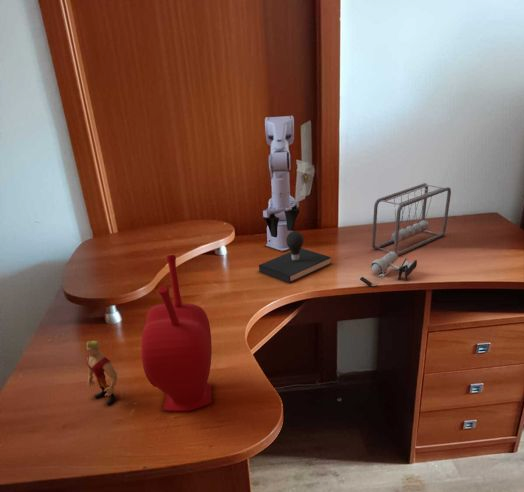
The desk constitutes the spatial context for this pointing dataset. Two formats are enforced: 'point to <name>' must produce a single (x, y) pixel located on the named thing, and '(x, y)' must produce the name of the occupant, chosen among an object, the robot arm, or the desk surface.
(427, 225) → the newton's cradle
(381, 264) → the clip-on lamp
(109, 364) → the action figure
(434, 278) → the desk surface
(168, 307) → the novelty television
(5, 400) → the desk surface
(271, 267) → the notebook
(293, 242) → the light bulb
